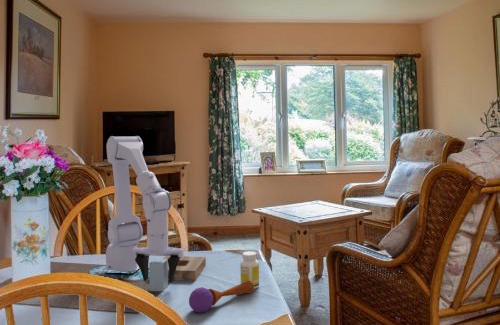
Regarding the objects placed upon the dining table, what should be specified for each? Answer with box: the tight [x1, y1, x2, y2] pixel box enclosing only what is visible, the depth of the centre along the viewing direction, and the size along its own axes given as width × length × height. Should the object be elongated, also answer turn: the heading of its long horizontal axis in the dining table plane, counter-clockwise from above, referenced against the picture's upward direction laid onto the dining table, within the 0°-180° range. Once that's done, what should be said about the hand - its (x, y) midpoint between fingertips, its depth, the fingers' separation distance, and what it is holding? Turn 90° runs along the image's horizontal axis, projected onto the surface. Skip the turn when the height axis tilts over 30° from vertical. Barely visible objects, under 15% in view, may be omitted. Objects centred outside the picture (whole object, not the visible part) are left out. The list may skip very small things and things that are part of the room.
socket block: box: [162, 255, 207, 282], centre depth 128 cm, size 14×14×3 cm
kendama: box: [188, 281, 254, 314], centre depth 104 cm, size 6×6×20 cm
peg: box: [148, 258, 169, 292], centre depth 114 cm, size 4×4×8 cm
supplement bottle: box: [239, 250, 260, 290], centre depth 115 cm, size 5×5×10 cm
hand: (158, 280), depth 114 cm, fingers open, 7 cm apart
